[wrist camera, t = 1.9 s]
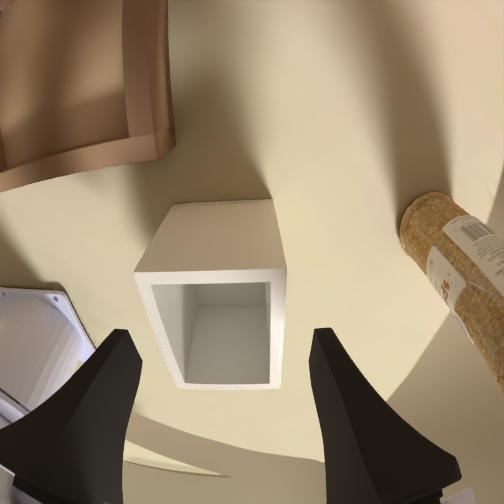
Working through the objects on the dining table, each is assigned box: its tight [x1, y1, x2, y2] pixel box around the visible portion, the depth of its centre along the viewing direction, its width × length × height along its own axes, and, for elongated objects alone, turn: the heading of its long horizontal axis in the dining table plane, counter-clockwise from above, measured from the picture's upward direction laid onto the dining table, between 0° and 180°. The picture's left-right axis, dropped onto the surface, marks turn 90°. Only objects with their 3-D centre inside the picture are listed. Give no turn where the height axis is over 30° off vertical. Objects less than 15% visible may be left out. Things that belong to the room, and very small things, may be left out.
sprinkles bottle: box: [399, 192, 504, 396], centre depth 9 cm, size 5×5×13 cm
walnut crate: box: [0, 0, 176, 193], centre depth 8 cm, size 12×13×3 cm
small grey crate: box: [133, 199, 287, 390], centre depth 13 cm, size 5×7×6 cm
